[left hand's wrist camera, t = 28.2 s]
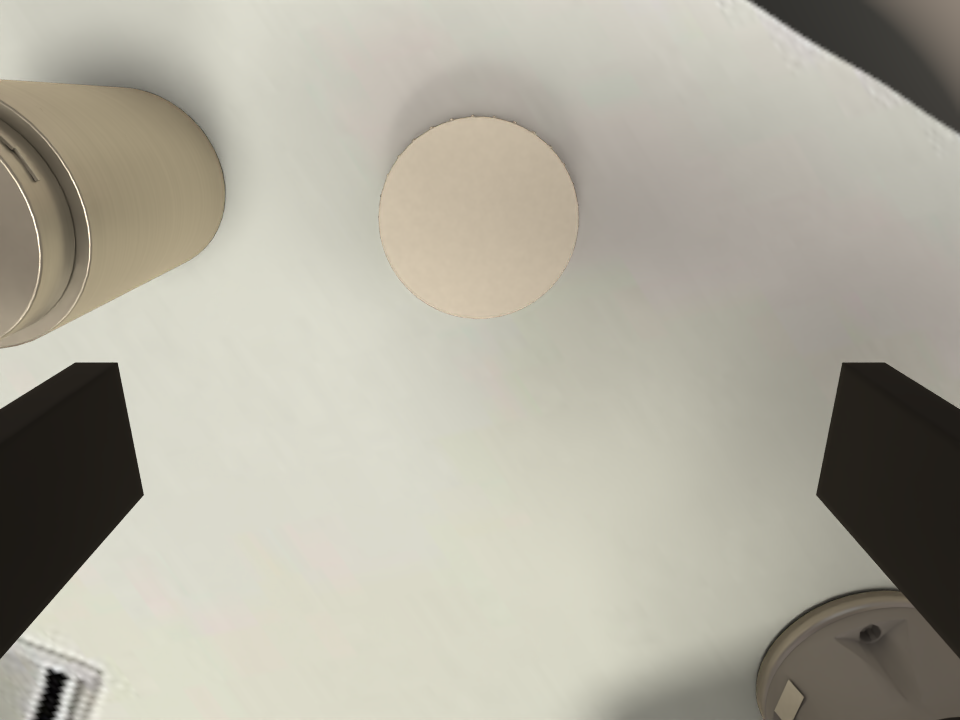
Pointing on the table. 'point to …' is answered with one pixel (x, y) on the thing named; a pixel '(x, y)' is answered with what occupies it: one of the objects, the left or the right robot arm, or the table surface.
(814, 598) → the table surface
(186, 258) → the jar
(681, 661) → the table surface
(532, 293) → the lid
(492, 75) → the table surface
